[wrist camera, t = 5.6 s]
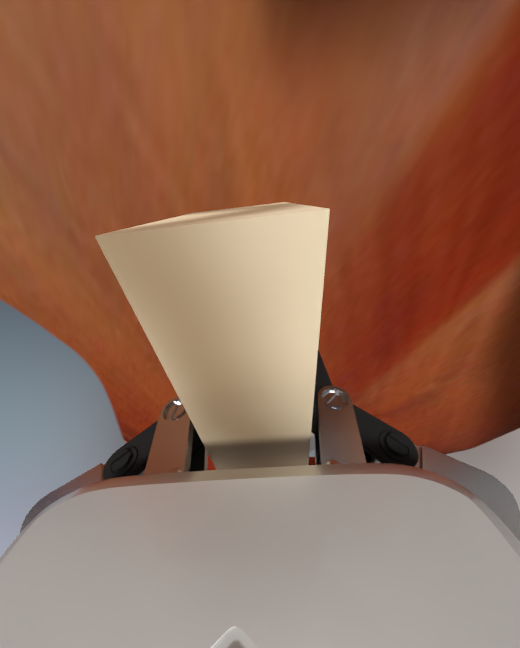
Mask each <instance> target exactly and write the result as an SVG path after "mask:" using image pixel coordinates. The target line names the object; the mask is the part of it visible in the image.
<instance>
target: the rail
mask: <svg viewBox="0 0 520 648" xmlns="http://www.w3.org/2000/svg"><path fill="white" fill-rule="evenodd" d="M329 211H330V209H327V208H321V207H314V206H307V205H301V204H294V203H288V202H283V203H274V204H266V205H257V206H249V207H240V208H232V209H223V210H215V211H206V212H198V213H191V214H187V215H183V216H178V217H174V218H170V219H165V220H161V221H157V222H152V223H148V224H144V225H140V226H135V227H131V228H127V229H122V230H118V231H114V232H109V233H105V234H101V235H97V236H95V238H96V240H97V242H98V243H99V245H100V247H101V249H102V251H103V253H104V255H105V257H106V259H107V261H108V263H109V264H110V266H111V268H112V270H113V272H114V274H115V276H116V278H117V280H118V282H119V284H120V286H121V287H122V289H123V291H124V293H125V295H126V297H127V299H128V301H129V303H130V305H131V307H132V309H133V310H134V312H135V314H136V316H137V318H138V320H139V322H140V324H141V326H142V328H143V330H144V331H145V333H146V335H147V337H148V339H149V341H150V343H151V345H152V347H153V349H154V351H155V353H156V354H157V356H158V358H159V360H160V362H161V364H162V366H163V368H164V370H165V372H166V374H167V376H168V377H169V379H170V381H171V383H172V385H173V387H174V389H175V391H176V393H177V395H178V397H179V398H180V400H181V402H182V404H183V406H184V408H185V410H186V412H187V414H188V416H189V418H190V420H191V421H192V423H193V425H194V427H195V429H196V431H197V433H198V435H199V437H200V439H201V441H202V442H203V444H204V446H205V448H206V450H207V452H208V454H209V456H210V458H211V460H212V462H213V464H214V465H215V467H216V469H217V470H229V469H247V468H266V467H285V466H306V465H308V464H309V452H310V440H311V428H312V416H313V404H314V392H315V380H316V368H317V356H318V344H319V332H320V320H321V308H322V296H323V283H324V271H325V259H326V247H327V235H328V223H329Z"/></svg>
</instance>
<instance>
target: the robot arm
mask: <svg viewBox="0 0 520 648" xmlns="http://www.w3.org/2000/svg"><path fill="white" fill-rule="evenodd" d="M311 432H312V433H313V434H314V445H315V465H306V466H285V467H266V468H247V469H229V470H211V471H208V452H207V450H206V448H205V446H204V444H203V442H202V441H201V439H200V437H199V435H198V433H197V431H196V429H195V427H194V425H193V423H192V421H191V420H190V418H189V416H188V414H187V412H186V410H185V408H184V406H183V404H182V402H181V400H180V398H179V397H176V398H173V399H171V400H170V401H168V402H167V403H166V404H165V405H164V406H163V408H162V409H161V412H160V415H159V418H158V421H156V422H155V423H154V424H152V425H151V426H150V427H148V428H147V429H145V430H144V431H143V432H141V433H140V434H139V435H137V436H136V437H135V438H133V439H132V440H130V441H129V442H128V443H126V444H125V445H124V446H122V447H121V448H120V449H118V450H117V451H116V452H115V453H114V454H113V455H112V456H111V457H110V458H109V459H108V461H107V463H106V464H104V465H103V464H102V463H101V464H99V465H97V466H96V467H94V468H92V469H91V470H89V471H87V472H85V473H84V474H82V475H80V476H78V477H77V478H75V479H73V480H71V481H70V482H68V483H66V484H65V485H63V486H61V487H59V488H58V489H56V490H54V491H52V492H51V493H49V494H47V495H46V496H45V497H43V498H42V499H40V500H39V501H38V502H37V503H36V505H34V506H33V507H32V509H31V510H30V511H29V513H28V514H27V515H26V517H25V520H24V522H23V524H22V527H21V531H20V534H19V535H18V536H17V538H16V539H15V540H14V541H13V542H12V544H11V545H10V546H9V548H8V549H7V550H6V552H5V553H4V554H3V555H2V557H1V558H0V648H520V511H519V508H518V505H517V502H516V500H515V498H514V496H513V494H512V493H511V492H510V491H509V490H508V488H507V487H506V486H505V485H504V484H503V483H501V482H500V481H499V480H498V479H496V478H495V477H493V476H492V475H490V474H488V473H486V472H484V471H482V470H480V469H477V468H475V467H473V466H470V465H468V464H466V463H463V462H461V461H458V460H456V459H454V458H452V457H449V456H447V455H445V454H442V453H440V452H438V451H435V450H433V449H431V448H428V447H426V446H424V445H422V446H421V447H420V446H417V445H415V444H414V443H413V442H412V441H411V440H410V439H409V438H408V437H407V436H406V435H404V434H403V433H402V432H400V431H398V430H396V429H395V428H393V427H391V426H389V425H388V424H386V423H384V422H383V421H381V420H379V419H377V418H376V417H374V416H372V415H370V414H369V413H367V412H365V411H363V410H362V409H360V408H358V407H357V406H355V405H353V404H352V400H351V397H350V395H349V394H348V393H347V392H346V391H345V390H344V389H342V388H340V387H338V386H333V385H332V383H331V381H330V378H329V376H328V373H327V371H326V368H325V366H324V363H323V361H322V358H321V356H320V353H319V351H318V356H317V368H316V380H315V392H314V404H313V416H312V428H311Z"/></svg>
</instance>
